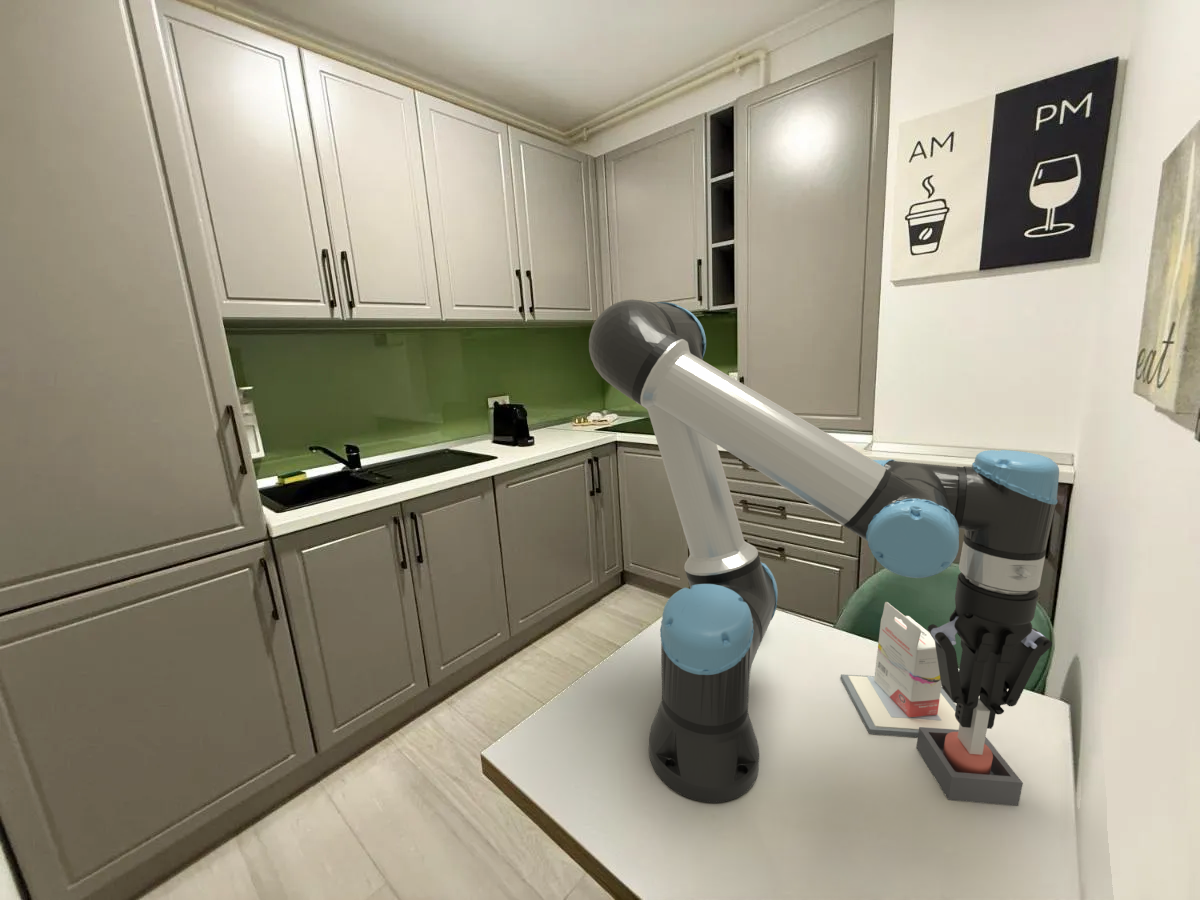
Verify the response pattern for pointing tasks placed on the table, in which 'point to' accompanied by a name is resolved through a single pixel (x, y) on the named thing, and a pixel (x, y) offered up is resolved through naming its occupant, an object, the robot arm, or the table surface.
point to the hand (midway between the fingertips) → (969, 745)
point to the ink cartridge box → (907, 664)
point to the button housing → (968, 786)
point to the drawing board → (894, 709)
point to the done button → (966, 756)
